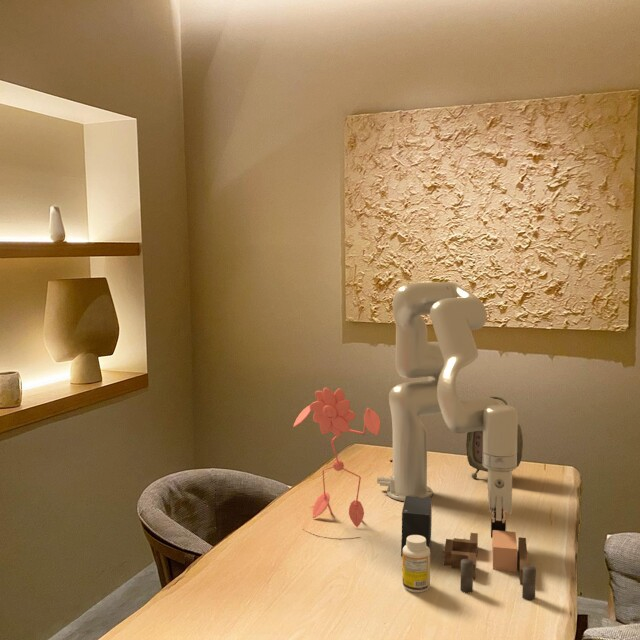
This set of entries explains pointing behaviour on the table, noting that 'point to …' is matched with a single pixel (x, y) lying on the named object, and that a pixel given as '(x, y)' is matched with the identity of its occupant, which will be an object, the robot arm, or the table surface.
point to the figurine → (334, 418)
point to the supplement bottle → (416, 564)
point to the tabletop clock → (476, 446)
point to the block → (504, 550)
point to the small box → (416, 519)
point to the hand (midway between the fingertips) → (498, 537)
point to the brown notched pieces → (464, 558)
